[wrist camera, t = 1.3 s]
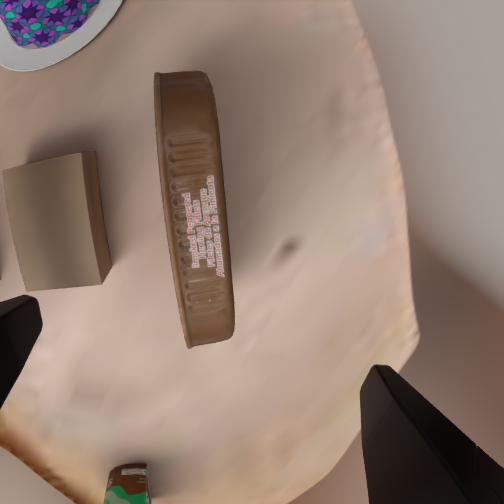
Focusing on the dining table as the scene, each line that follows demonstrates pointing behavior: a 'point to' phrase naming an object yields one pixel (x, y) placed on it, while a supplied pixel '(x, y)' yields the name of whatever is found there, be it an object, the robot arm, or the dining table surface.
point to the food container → (128, 485)
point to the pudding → (48, 29)
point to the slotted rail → (58, 222)
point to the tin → (194, 204)
